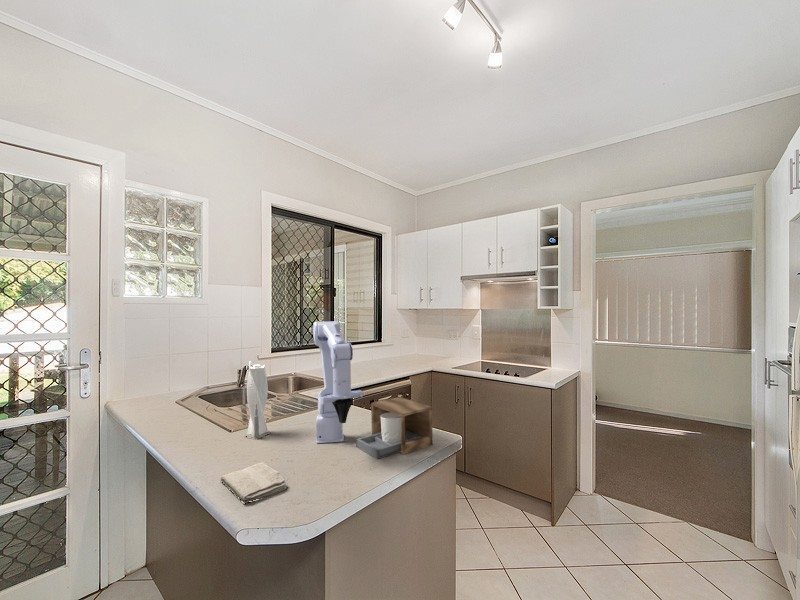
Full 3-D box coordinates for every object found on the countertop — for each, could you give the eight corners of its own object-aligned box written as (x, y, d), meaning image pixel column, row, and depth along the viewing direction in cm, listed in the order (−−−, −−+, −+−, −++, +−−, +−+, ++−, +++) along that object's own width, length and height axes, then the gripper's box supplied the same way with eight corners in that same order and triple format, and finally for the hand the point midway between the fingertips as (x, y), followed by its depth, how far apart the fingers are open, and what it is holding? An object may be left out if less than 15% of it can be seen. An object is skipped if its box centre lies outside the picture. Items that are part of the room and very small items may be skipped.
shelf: (403, 454, 115) (402, 414, 115) (371, 438, 129) (371, 402, 130) (432, 444, 123) (431, 406, 123) (400, 430, 137) (399, 396, 138)
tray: (377, 459, 112) (377, 450, 112) (355, 446, 122) (355, 439, 122) (422, 444, 123) (422, 436, 123) (399, 434, 134) (399, 427, 134)
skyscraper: (240, 436, 134) (239, 362, 135) (257, 429, 141) (256, 359, 142) (256, 439, 130) (256, 363, 131) (273, 432, 138) (272, 360, 138)
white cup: (401, 449, 119) (401, 419, 119) (378, 448, 120) (378, 418, 121) (404, 440, 127) (404, 412, 127) (383, 439, 128) (382, 411, 128)
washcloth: (244, 508, 86) (244, 495, 86) (218, 483, 98) (218, 472, 99) (290, 490, 94) (290, 478, 94) (260, 469, 107) (260, 459, 107)
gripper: (327, 385, 109) (327, 430, 108) (367, 379, 118) (367, 420, 117) (317, 382, 114) (317, 424, 114) (356, 376, 123) (356, 415, 123)
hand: (342, 422), depth 116 cm, fingers closed
